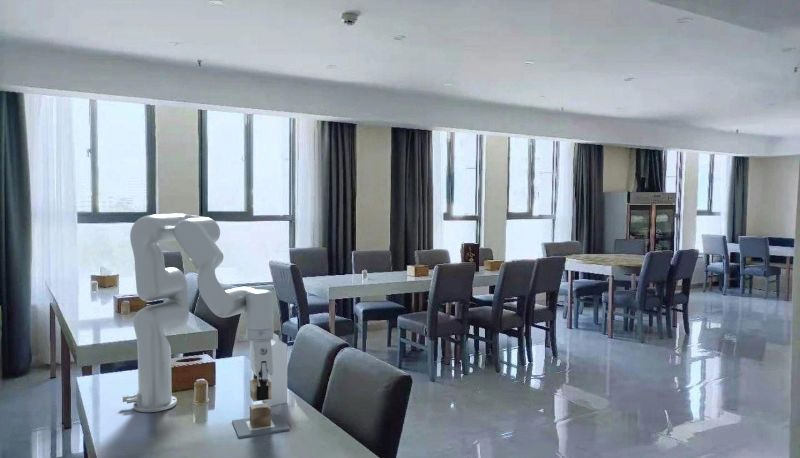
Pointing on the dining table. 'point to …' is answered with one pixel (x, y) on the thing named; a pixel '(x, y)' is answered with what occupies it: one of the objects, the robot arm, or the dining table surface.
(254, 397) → the oak block
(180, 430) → the dining table surface
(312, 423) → the dining table surface
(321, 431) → the dining table surface
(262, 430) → the mat
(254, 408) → the walnut block
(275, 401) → the milk
